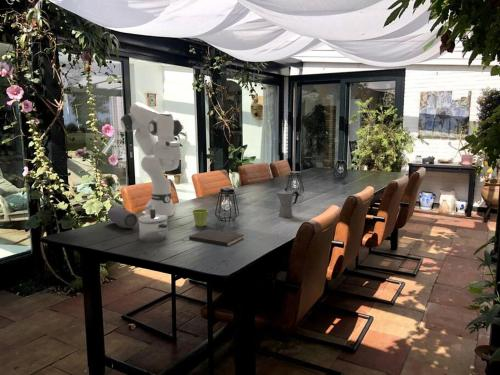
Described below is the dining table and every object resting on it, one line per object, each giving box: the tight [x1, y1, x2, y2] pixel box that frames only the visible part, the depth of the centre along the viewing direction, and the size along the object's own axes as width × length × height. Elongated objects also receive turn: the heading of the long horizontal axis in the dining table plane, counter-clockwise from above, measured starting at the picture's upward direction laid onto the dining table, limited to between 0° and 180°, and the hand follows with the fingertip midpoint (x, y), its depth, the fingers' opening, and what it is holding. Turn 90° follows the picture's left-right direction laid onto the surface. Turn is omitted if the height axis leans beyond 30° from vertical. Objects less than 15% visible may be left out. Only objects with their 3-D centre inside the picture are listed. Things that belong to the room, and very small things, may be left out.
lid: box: [137, 209, 169, 222], centre depth 208 cm, size 15×15×5 cm
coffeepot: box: [275, 187, 299, 218], centre depth 258 cm, size 15×9×18 cm, turn 107°
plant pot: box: [191, 208, 209, 227], centre depth 234 cm, size 9×9×9 cm
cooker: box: [138, 219, 169, 243], centre depth 209 cm, size 21×14×10 cm
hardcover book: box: [188, 228, 244, 247], centre depth 208 cm, size 16×23×2 cm
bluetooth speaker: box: [106, 206, 139, 229], centre depth 232 cm, size 23×9×10 cm, turn 41°
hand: (166, 167), depth 226 cm, fingers open, 8 cm apart
